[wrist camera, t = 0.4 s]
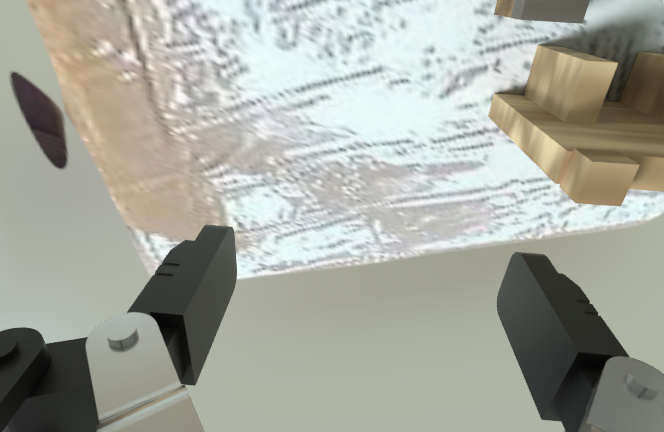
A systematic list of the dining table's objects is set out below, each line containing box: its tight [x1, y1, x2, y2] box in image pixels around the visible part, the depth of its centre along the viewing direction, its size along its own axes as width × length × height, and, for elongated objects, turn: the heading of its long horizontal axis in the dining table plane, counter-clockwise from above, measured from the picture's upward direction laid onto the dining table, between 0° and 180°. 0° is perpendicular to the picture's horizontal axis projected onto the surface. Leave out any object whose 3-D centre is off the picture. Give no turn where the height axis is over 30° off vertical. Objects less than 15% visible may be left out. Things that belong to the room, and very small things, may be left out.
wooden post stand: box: [488, 45, 664, 206], centre depth 27 cm, size 6×15×16 cm, turn 87°
